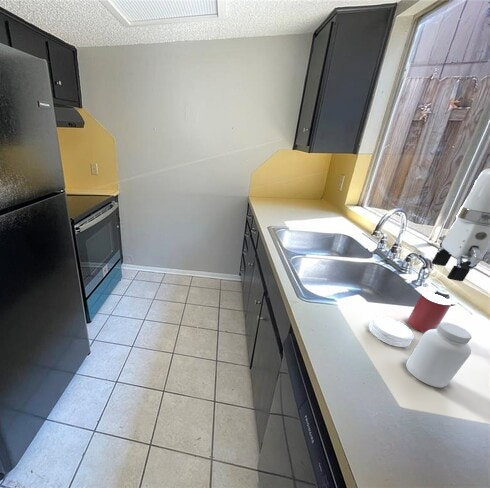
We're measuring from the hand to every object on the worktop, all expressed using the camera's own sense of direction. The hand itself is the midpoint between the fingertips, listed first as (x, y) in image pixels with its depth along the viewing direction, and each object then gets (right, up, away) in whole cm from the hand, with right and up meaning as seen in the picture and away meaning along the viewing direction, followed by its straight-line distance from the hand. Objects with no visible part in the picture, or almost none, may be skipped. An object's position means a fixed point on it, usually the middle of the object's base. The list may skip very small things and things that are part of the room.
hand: (445, 271), depth 76 cm
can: (-1, -18, +7) cm, 20 cm away
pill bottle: (-16, -25, -10) cm, 32 cm away
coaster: (-15, -20, +3) cm, 25 cm away
